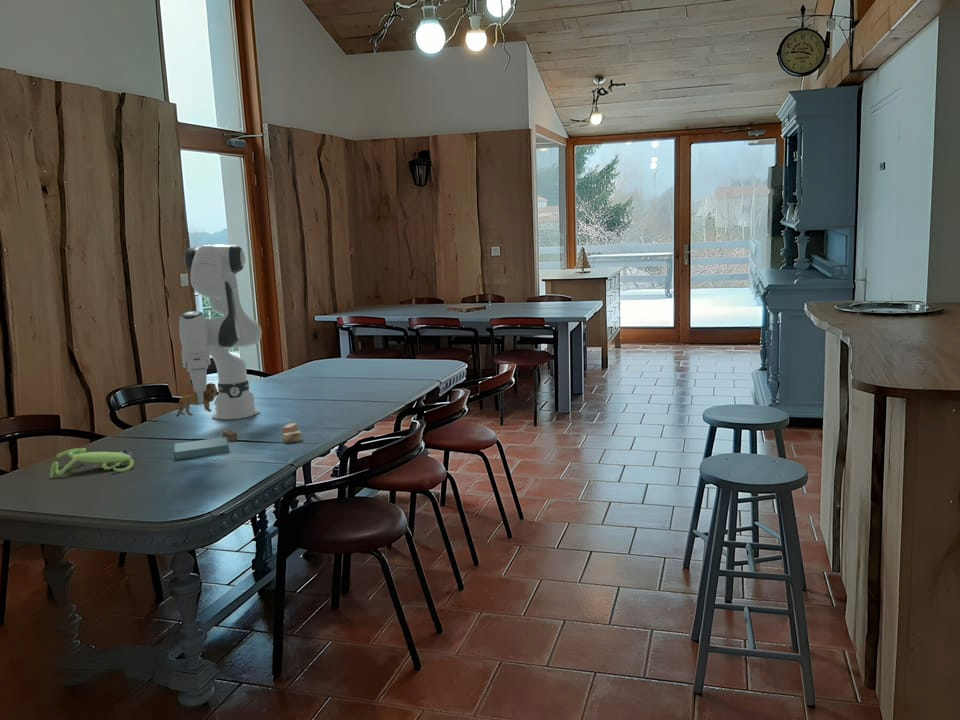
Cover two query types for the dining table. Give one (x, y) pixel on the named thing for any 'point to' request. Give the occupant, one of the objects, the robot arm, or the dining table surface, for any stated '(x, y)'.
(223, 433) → the walnut brick
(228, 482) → the dining table surface
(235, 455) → the dining table surface
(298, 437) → the oak brick
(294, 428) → the terracotta brick
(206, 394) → the lion figurine
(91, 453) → the figurine
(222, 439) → the teal slab
